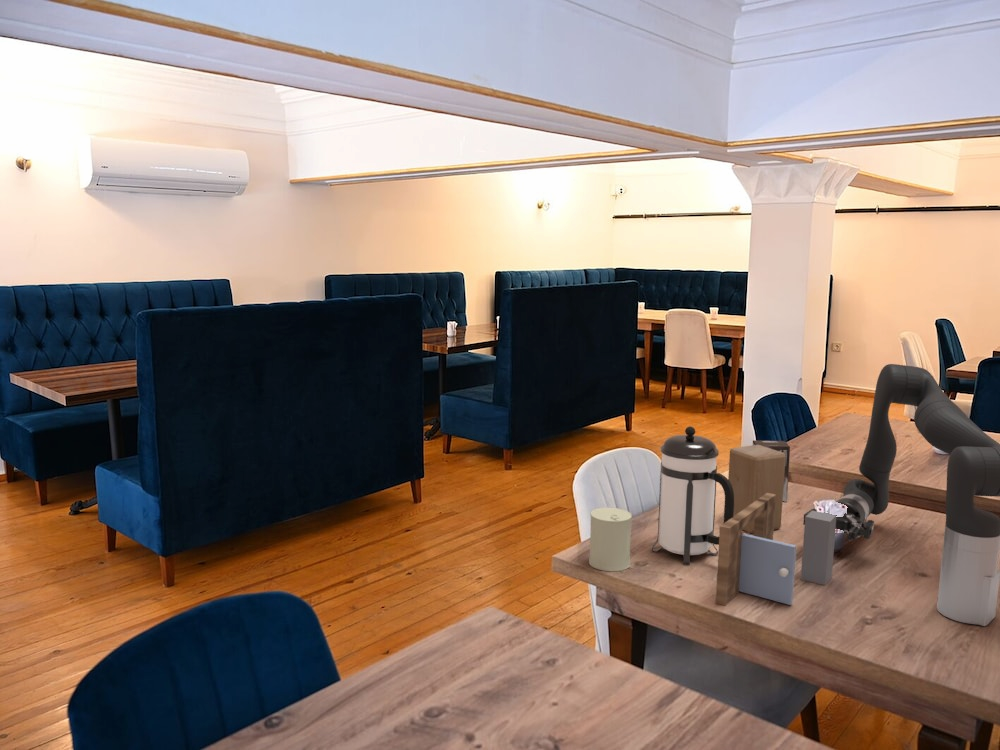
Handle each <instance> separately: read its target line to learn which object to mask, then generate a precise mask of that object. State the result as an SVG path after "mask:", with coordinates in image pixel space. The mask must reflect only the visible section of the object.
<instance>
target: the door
mask: <svg viewBox="0 0 1000 750" xmlns="http://www.w3.org/2000/svg"><path fill="white" fill-rule="evenodd" d="M796 556H797V545H796V544H791V543H788V542H783V541H778V540H775V539H773V540H770V539H766V538H761V537H757V536H754V535H753V534H749V533H748V534H747V533H743V532H742V542H741V558H740V575H739V592H741V593H745V594H748V595H752V596H755V597H760V598H763V599H767V600H771V601H774V602H778V603H781V604H785V605H788V606H791V605H792V604H793V600H794V597H793V596H794V586H795V574H796V573H795V571H796Z"/></svg>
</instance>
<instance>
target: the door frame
mask: <svg viewBox="0 0 1000 750" xmlns="http://www.w3.org/2000/svg"><path fill="white" fill-rule="evenodd" d="M775 500H776V495H775V494H770V493H766V494H765V495H763V496H762V497H760V498H759V499H758V500H756V501H755V502H753V503H752V504H750V505H749V506H748V507H746V508H745V509H743V510H742V511H741V512H739V513H738V514H736V515H735V516H734V517H732V518H731V519H729V520H728V521H726V522H725V523H724V522H723V523H722V524H721V525H719V536H718V537H719V545H718V550H717V551H718V554H717V572H716V573H717V574H716V590H715V591H716V592H715V604H718V605H722V606H727V605H728V604H729V603H730V602H731V601H732V600H733V599H734V598H735V597H736V596H738V594H739V592H740V591H739V575H740V558H741V542H742V533H743V530H742V528H743V527H745V526H746V525H747V524H749V523H750V522H751V521H753V520H754V519H755V523H754V533H753V536H757V537H761V538H766V539H770V540H774V515H775Z"/></svg>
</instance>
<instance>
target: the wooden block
mask: <svg viewBox="0 0 1000 750" xmlns="http://www.w3.org/2000/svg"><path fill="white" fill-rule="evenodd" d="M785 457H786V456H785V454H784V453H783V452H780V451H777V450H773V449H770V448H767V447H764V446H761V445H753V444H751V445H745V446H737V447H732V448H730V450H729V458H728V459H729V461H728V478H727V479H728V480H729V481H730V483H731V485H732V488H733V492H734V513H733V517H734V516H735V515H736V514H738V513H739V512H741V511H742V510H743V509H745V508H746V507H748V506H749V505H750V504H752V503H753V502H755V501H756V500H758V499H759V498H760V497H762V496H763V495H765V494H766V493H770V494H775V495H776V500H775V515H774V530H779V529H781V527H782V515H783V514H782V512H783V502H782V501H783V486H784V472H785ZM754 523H755V519H754V520H753V521H751V522H750V523H749V524H747V525H746V526H745V527H743V528H742V531H745V532H747V533H748V534H750V535H754ZM774 530H773V531H774Z"/></svg>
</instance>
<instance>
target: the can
mask: <svg viewBox="0 0 1000 750" xmlns="http://www.w3.org/2000/svg"><path fill="white" fill-rule="evenodd" d="M632 515H633V514H632V513H631V511H628V510H625V509H623V508H618V507H598V508H595V509H593V510H591V512H590V537H589V543H590V544H589V559H588V563H589V565H590V567H592V568H594V569H596V570H599V571H604V572H613V573H615V572H622V571H625V570H627V569H629V568H630V567H631V533H632V532H631V531H632V517H633V516H632Z"/></svg>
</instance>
